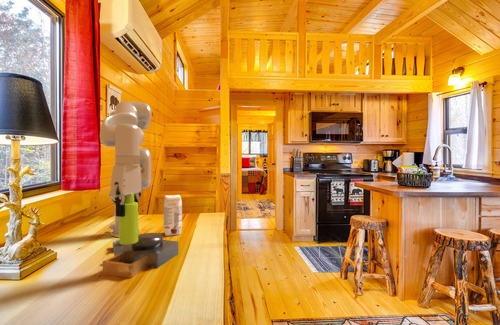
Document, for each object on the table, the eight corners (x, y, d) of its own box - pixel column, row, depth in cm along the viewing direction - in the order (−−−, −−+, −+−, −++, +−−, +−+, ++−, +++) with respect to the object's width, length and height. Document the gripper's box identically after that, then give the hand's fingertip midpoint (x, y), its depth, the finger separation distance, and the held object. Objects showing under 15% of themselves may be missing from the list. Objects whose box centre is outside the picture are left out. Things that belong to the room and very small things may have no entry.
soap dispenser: (120, 239, 94) (119, 182, 94) (140, 238, 95) (140, 182, 94) (113, 244, 88) (112, 184, 88) (134, 244, 89) (134, 184, 88)
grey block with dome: (93, 272, 89) (93, 248, 89) (139, 249, 112) (139, 230, 111) (140, 279, 85) (140, 254, 85) (178, 254, 107) (178, 233, 107)
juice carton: (182, 235, 132) (182, 196, 132) (163, 236, 130) (164, 197, 129) (180, 230, 140) (180, 194, 139) (163, 232, 137) (163, 195, 136)
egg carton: (112, 253, 107) (112, 243, 107) (112, 248, 114) (112, 238, 114) (141, 249, 112) (141, 239, 112) (139, 244, 119) (139, 234, 119)
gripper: (135, 160, 100) (135, 209, 101) (97, 161, 84) (97, 219, 84) (152, 161, 98) (152, 210, 99) (118, 161, 82) (118, 221, 82)
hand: (127, 213), depth 91 cm, fingers closed on soap dispenser, 5 cm apart
